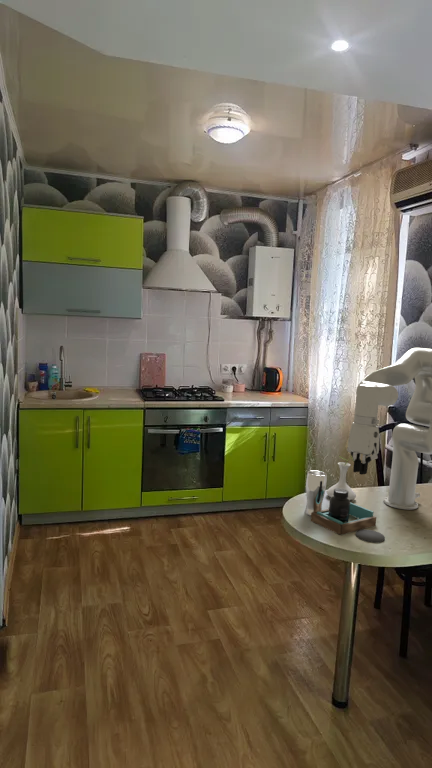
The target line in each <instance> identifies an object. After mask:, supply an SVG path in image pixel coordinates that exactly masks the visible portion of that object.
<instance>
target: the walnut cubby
mask: <svg viewBox="0 0 432 768" xmlns="http://www.w3.org/2000/svg"><path fill="white" fill-rule="evenodd" d="M317 512H318V511H316V512H312V513H311V516H310V522H311V523H314V524H316V525H318V526H320V527H322V528H324V529H326V530H329V531H330V532H333V533H334V534H337V535H339V536H342V535H346V534H350V533H353V532H356V531H358V530H362V529H369V528H371V527H375V526H376V525H377V516H375V515H373V517H369V518H365V519H361V520H358V519H356V520H357V521H354V520H352V521H353V522H350V521H348V522H349V523H345V524H339V523H336V522H334V521H332V520H330V519H327V518H325V517H323V516H321V515H319V514H317ZM319 512H321V513H326V512H329V508H326V509H325V508H324V509H322V510H321V511H319Z"/></svg>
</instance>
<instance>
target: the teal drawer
mask: <svg viewBox="0 0 432 768" xmlns="http://www.w3.org/2000/svg"><path fill="white" fill-rule="evenodd" d="M328 513H329V512H326V513H321V512H319V511H318V512H317V514H319V515H321V516H323V517H325V518H327V519H330V520H332V521H334V522H336V523H339V524H345V523H343V522H341V521H339V520H337V519H335V518H332V517H330V516H328ZM349 516H352V517H354V518H356V519H355V520H350V521H348V522H346V523H349V522H353V521H357V520H361V519H365V518H369V517H373V516H374V511H373V510H371V509H368V508H365V507H363V506H361V505H357V504H356V503H353V502H351V501H350V512H349Z"/></svg>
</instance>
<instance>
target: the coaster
mask: <svg viewBox="0 0 432 768" xmlns="http://www.w3.org/2000/svg"><path fill="white" fill-rule="evenodd" d="M355 537H357V538H358V539H360V540H362V541H365V542H367V543H374V544H375V543H377V544H378V543H383V542H384V541H385V539H386V537H385V535H384V534H383V533H381V532H378V531H376V530H372V529H367V528H365V529H361V530H357V531H355Z"/></svg>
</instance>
